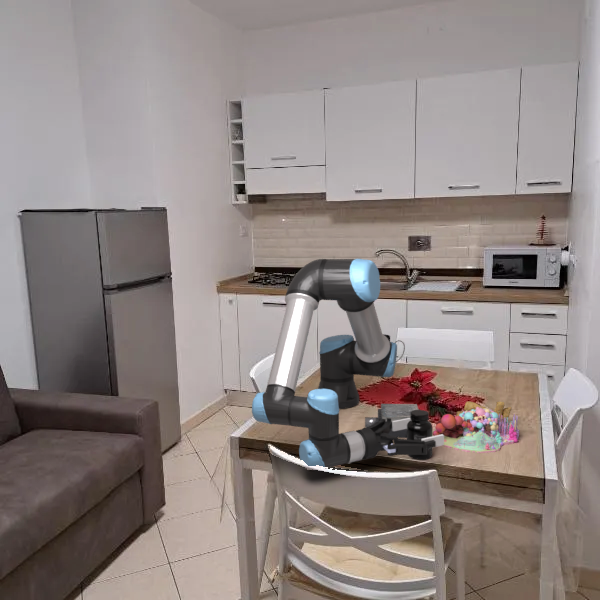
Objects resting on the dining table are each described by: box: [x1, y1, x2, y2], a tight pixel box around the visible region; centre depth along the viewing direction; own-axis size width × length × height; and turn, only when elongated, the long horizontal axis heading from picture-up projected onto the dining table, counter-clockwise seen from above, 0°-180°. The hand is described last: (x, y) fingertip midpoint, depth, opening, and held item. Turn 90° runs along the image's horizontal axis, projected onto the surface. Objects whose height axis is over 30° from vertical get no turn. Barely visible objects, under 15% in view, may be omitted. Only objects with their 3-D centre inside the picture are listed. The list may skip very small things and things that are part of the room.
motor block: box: [364, 403, 421, 439], centre depth 168 cm, size 17×13×6 cm
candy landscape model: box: [433, 400, 520, 454], centre depth 162 cm, size 25×24×9 cm
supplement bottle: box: [406, 409, 434, 461], centre depth 149 cm, size 7×7×12 cm
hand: (427, 430), depth 150 cm, fingers open, 13 cm apart
